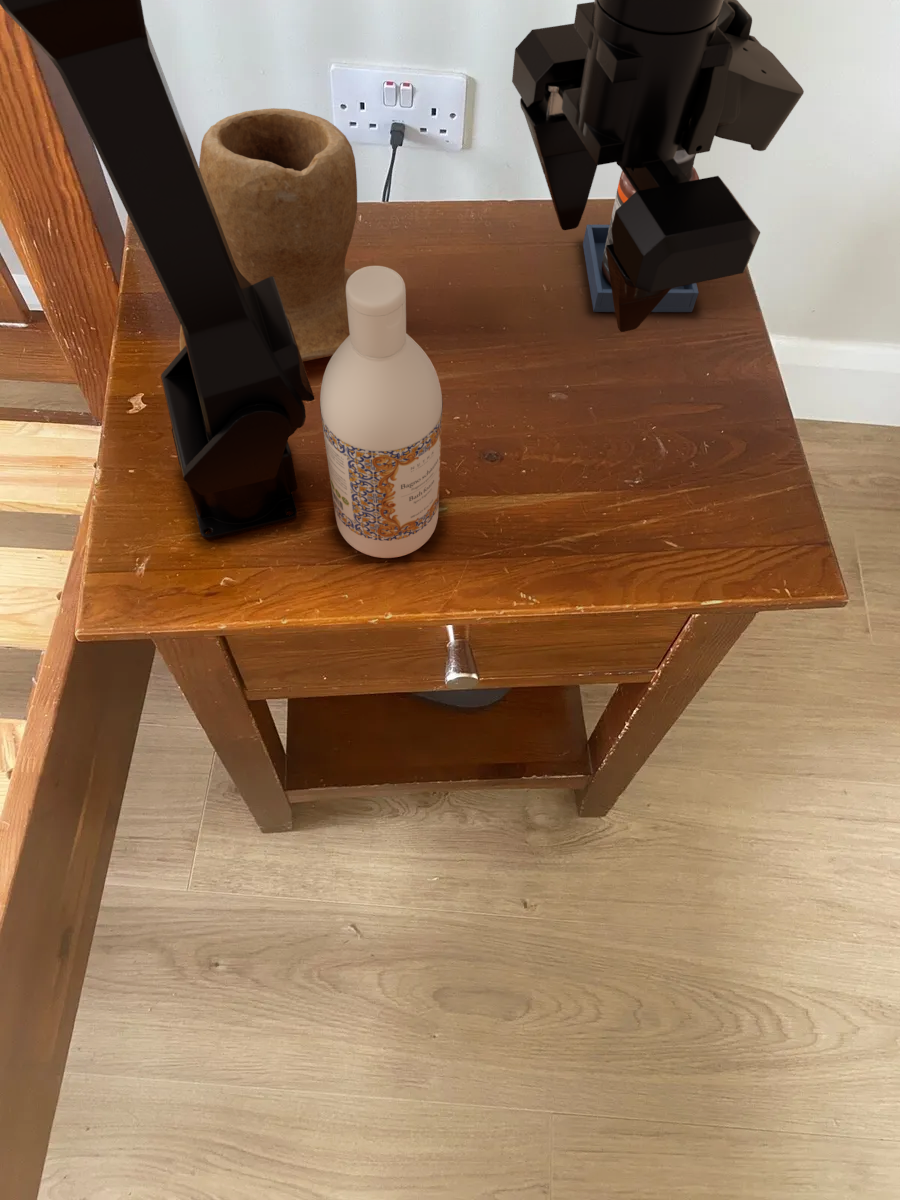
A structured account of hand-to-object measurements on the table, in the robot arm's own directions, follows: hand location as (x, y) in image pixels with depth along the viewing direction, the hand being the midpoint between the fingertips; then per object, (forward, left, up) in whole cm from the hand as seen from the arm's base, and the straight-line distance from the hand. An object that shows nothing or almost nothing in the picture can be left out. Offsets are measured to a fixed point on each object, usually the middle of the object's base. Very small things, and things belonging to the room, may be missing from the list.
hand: (597, 276), depth 54 cm
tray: (+11, +12, -13) cm, 21 cm away
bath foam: (-15, -5, -13) cm, 21 cm away
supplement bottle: (+11, +12, -13) cm, 21 cm away
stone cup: (-18, +15, -13) cm, 27 cm away
